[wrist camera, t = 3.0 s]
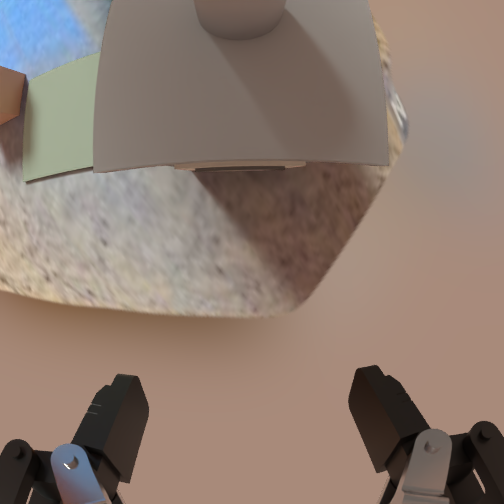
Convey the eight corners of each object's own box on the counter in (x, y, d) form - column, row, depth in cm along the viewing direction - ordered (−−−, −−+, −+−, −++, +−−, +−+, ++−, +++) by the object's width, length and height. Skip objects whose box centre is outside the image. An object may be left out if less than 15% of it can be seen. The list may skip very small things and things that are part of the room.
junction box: (185, 62, 16) (103, -95, 1) (289, 60, 16) (379, -97, 1) (185, 174, 18) (14, 188, 3) (293, 172, 19) (469, 177, 3)
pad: (31, 80, 14) (29, 80, 14) (153, 40, 15) (152, 38, 15) (25, 181, 17) (23, 182, 17) (148, 158, 18) (147, 158, 17)
